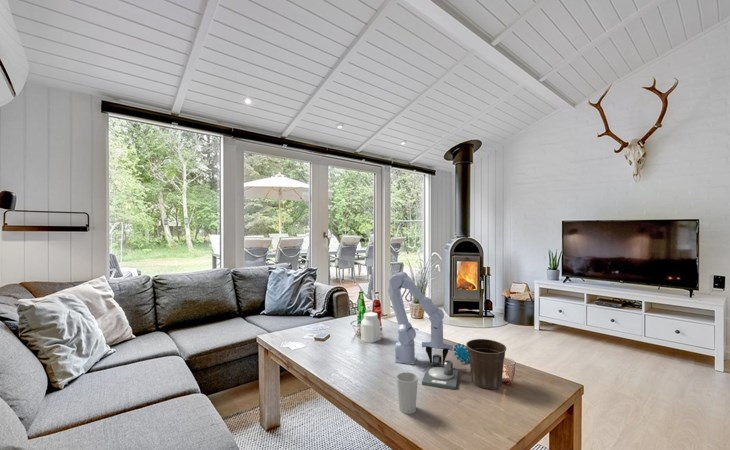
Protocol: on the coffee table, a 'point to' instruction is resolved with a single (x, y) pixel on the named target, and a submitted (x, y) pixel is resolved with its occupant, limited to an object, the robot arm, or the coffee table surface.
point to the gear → (462, 353)
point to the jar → (370, 328)
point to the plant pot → (486, 362)
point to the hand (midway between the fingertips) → (437, 363)
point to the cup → (407, 392)
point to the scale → (440, 378)
